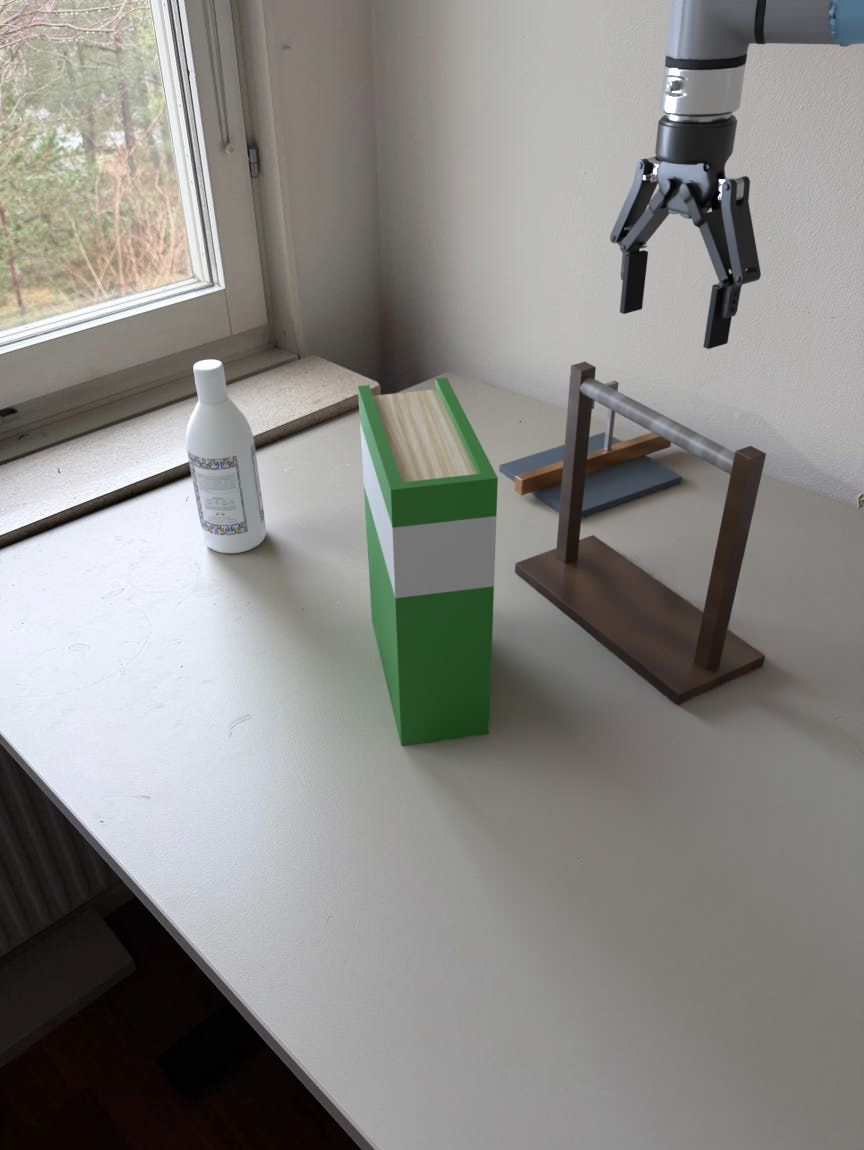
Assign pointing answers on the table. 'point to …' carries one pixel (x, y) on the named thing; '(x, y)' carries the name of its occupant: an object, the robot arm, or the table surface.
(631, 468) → the mat
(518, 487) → the hanger
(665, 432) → the rail stand
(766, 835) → the table surface
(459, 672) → the hardback book
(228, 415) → the bath foam
